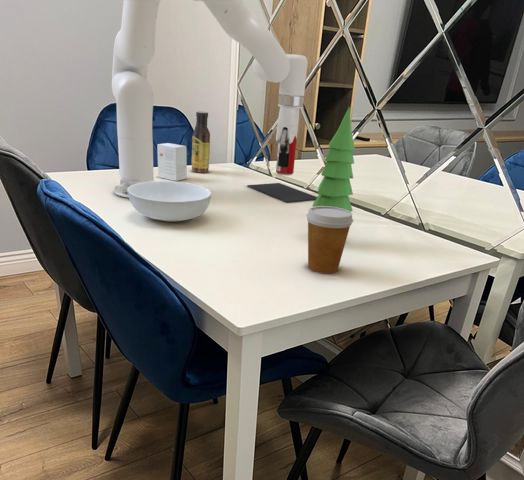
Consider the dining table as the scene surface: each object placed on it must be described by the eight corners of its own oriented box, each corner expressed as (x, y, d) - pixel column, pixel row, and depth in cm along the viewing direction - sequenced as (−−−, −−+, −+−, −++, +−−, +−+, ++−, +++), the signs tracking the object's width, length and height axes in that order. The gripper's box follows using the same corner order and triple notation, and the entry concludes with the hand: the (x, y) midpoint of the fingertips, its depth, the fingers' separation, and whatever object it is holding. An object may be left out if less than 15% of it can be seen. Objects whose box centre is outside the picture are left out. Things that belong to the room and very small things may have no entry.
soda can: (296, 174, 169) (300, 134, 163) (284, 176, 165) (288, 135, 160) (284, 171, 172) (287, 131, 166) (272, 172, 169) (275, 132, 163)
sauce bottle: (189, 169, 193) (189, 110, 183) (205, 169, 195) (206, 110, 186) (195, 173, 188) (195, 112, 178) (211, 173, 190) (213, 113, 181)
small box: (187, 179, 179) (187, 146, 174) (176, 181, 175) (176, 147, 170) (168, 175, 183) (168, 142, 177) (157, 177, 178) (156, 143, 173)
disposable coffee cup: (341, 261, 117) (349, 207, 111) (349, 277, 109) (358, 219, 103) (298, 259, 117) (304, 204, 111) (302, 275, 108) (309, 216, 102)
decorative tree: (349, 238, 133) (370, 107, 119) (344, 249, 125) (365, 109, 111) (311, 232, 135) (327, 102, 121) (303, 242, 127) (319, 105, 113)
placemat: (320, 199, 167) (320, 198, 167) (287, 202, 161) (287, 201, 160) (278, 184, 183) (279, 182, 183) (247, 186, 176) (247, 185, 176)
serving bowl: (114, 221, 130) (112, 193, 127) (149, 203, 148) (148, 177, 145) (194, 233, 127) (195, 204, 124) (221, 213, 145) (222, 187, 142)
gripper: (284, 99, 167) (279, 159, 176) (271, 102, 152) (267, 168, 161) (308, 101, 165) (302, 162, 174) (297, 104, 151) (291, 171, 159)
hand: (285, 164), depth 167 cm, fingers closed on soda can, 5 cm apart
